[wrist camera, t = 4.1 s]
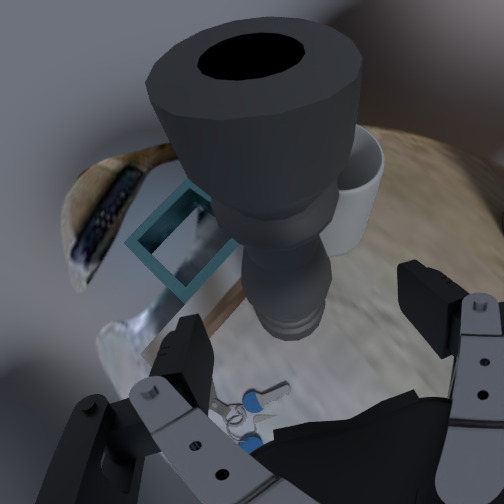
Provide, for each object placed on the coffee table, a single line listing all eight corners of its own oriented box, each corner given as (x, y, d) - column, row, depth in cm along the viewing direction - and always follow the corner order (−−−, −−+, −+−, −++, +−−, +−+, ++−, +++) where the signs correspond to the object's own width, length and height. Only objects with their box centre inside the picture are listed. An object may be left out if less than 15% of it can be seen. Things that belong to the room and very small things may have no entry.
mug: (360, 265, 30) (384, 204, 20) (278, 249, 32) (267, 184, 22) (369, 173, 34) (384, 103, 24) (301, 162, 36) (297, 90, 27)
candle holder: (282, 354, 27) (196, 182, 5) (246, 302, 30) (114, 71, 8) (336, 315, 28) (421, 67, 6) (297, 267, 31) (274, 3, 8)
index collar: (199, 193, 37) (190, 175, 33) (265, 239, 33) (260, 222, 29) (138, 256, 34) (123, 242, 31) (197, 314, 30) (185, 304, 27)
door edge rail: (275, 238, 32) (270, 211, 28) (290, 248, 32) (288, 222, 27) (165, 361, 29) (140, 354, 24) (178, 374, 28) (155, 370, 23)
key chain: (171, 395, 27) (168, 395, 27) (223, 334, 29) (221, 332, 29) (282, 484, 22) (281, 487, 21) (339, 420, 24) (340, 421, 23)
